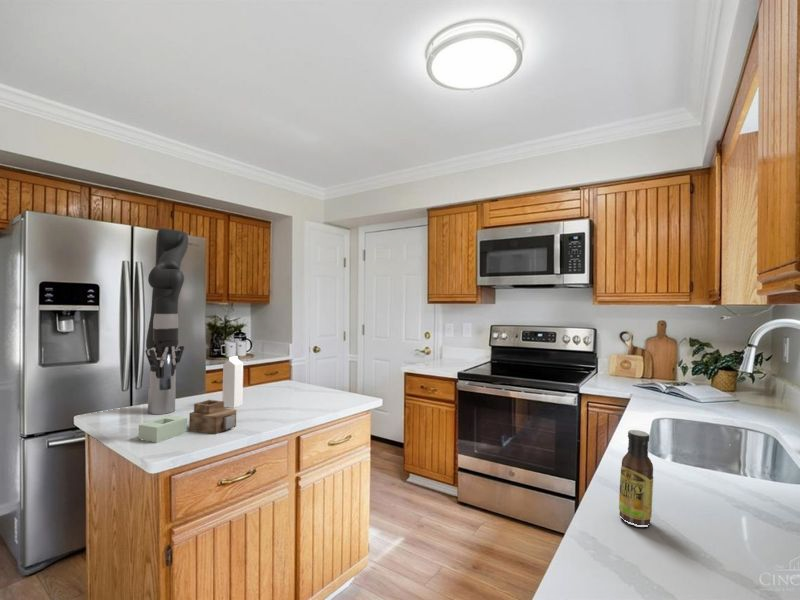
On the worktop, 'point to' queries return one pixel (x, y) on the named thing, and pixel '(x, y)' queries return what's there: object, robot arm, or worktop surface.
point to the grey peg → (166, 373)
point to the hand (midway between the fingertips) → (165, 376)
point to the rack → (162, 428)
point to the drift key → (228, 421)
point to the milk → (233, 382)
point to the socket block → (209, 416)
